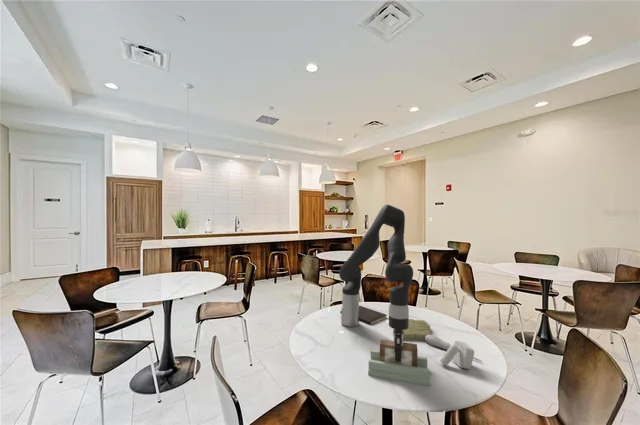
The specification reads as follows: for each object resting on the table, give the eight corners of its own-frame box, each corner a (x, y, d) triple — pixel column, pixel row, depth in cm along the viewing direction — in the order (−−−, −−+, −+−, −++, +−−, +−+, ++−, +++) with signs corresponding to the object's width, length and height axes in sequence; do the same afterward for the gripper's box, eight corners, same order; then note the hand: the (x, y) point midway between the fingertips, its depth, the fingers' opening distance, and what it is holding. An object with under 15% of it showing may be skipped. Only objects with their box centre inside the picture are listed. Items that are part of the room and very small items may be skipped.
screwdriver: (480, 369, 113) (480, 360, 112) (423, 343, 132) (422, 335, 131) (484, 362, 116) (484, 354, 115) (428, 338, 135) (427, 330, 134)
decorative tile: (398, 340, 135) (398, 333, 135) (391, 323, 155) (391, 317, 155) (437, 342, 133) (437, 335, 133) (425, 325, 153) (426, 319, 153)
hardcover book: (357, 308, 179) (357, 304, 179) (387, 318, 162) (387, 314, 162) (340, 314, 168) (340, 310, 168) (370, 326, 151) (370, 322, 151)
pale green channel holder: (368, 374, 106) (368, 363, 106) (371, 358, 117) (371, 348, 117) (429, 385, 99) (429, 373, 99) (426, 367, 111) (426, 356, 111)
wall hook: (434, 359, 116) (440, 336, 116) (457, 364, 117) (462, 341, 117) (444, 370, 108) (450, 345, 108) (468, 375, 109) (475, 350, 109)
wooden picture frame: (379, 367, 108) (379, 344, 108) (380, 361, 112) (380, 339, 112) (417, 373, 104) (417, 349, 104) (416, 366, 108) (416, 344, 108)
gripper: (409, 322, 100) (408, 369, 100) (408, 309, 114) (407, 349, 114) (387, 320, 102) (387, 365, 102) (389, 307, 116) (389, 347, 116)
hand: (398, 357), depth 108 cm, fingers open, 5 cm apart
